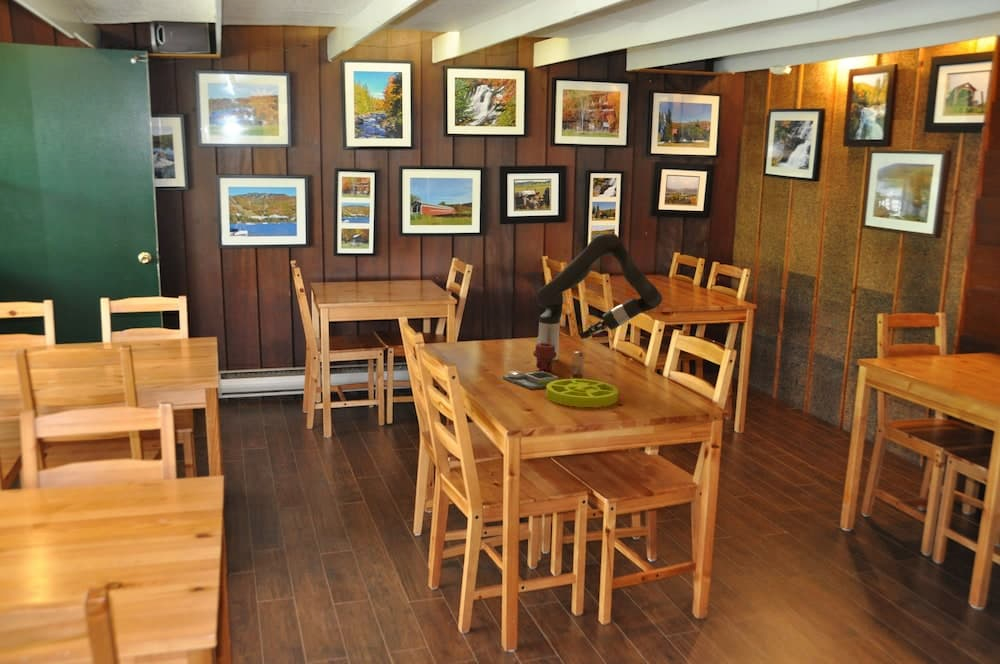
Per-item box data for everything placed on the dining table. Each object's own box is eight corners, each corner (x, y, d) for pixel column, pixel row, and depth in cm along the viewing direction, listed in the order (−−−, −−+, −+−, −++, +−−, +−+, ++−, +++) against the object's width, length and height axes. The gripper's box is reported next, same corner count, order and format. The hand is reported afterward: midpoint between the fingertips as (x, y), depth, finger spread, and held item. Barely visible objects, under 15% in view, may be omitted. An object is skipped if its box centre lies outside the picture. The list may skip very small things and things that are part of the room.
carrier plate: (502, 378, 372) (503, 370, 371) (533, 374, 381) (533, 366, 380) (531, 389, 356) (531, 382, 355) (562, 385, 365) (563, 377, 364)
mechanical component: (533, 367, 393) (556, 368, 392) (531, 372, 384) (555, 374, 383) (534, 339, 391) (557, 341, 390) (533, 344, 381) (556, 346, 380)
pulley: (534, 391, 355) (534, 379, 354) (595, 386, 366) (596, 375, 365) (566, 411, 330) (567, 398, 329) (631, 405, 341) (631, 392, 340)
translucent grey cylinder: (567, 379, 375) (568, 351, 373) (578, 377, 379) (579, 349, 376) (576, 382, 370) (577, 354, 368) (587, 380, 374) (589, 352, 371)
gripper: (614, 309, 372) (580, 328, 376) (609, 308, 358) (574, 329, 362) (623, 325, 371) (589, 344, 375) (618, 325, 357) (584, 345, 361)
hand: (582, 336), depth 368 cm, fingers open, 8 cm apart
